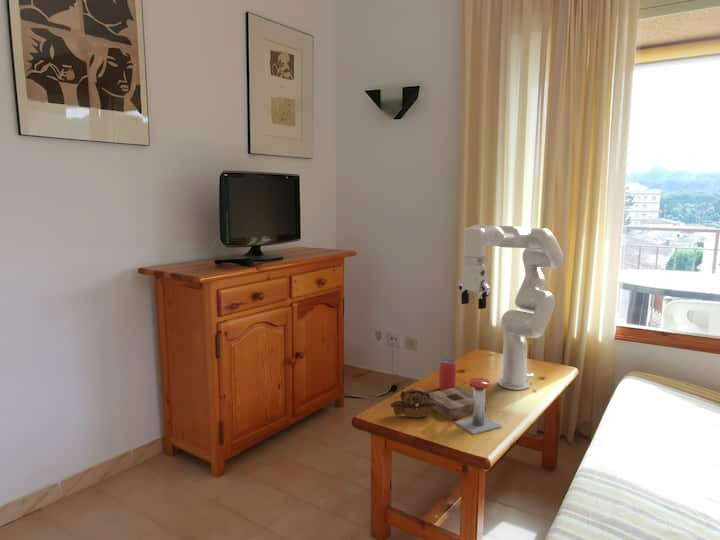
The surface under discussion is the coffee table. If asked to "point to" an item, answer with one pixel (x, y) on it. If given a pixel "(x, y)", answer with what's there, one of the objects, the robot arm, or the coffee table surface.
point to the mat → (474, 429)
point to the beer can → (447, 374)
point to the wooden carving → (413, 403)
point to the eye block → (453, 402)
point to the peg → (478, 399)
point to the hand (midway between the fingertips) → (473, 306)
